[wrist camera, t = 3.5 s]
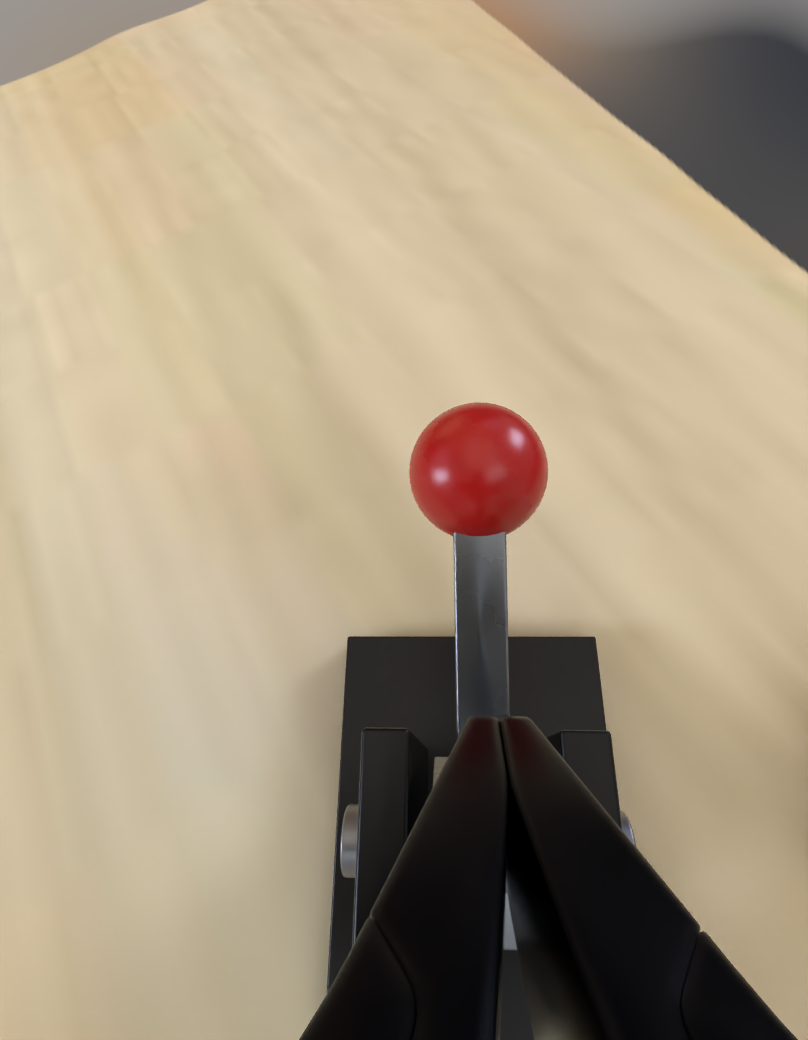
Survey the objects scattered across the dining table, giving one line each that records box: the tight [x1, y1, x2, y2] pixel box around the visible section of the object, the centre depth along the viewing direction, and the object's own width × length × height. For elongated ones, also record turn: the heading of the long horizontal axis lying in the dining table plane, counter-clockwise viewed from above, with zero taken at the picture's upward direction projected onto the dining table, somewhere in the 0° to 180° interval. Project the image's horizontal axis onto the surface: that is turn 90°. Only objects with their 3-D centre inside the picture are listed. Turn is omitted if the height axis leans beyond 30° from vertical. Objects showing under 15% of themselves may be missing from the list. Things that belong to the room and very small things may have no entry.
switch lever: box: [409, 403, 548, 950], centre depth 12 cm, size 11×3×3 cm, turn 0°
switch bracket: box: [327, 637, 636, 1040], centre depth 15 cm, size 12×9×10 cm
